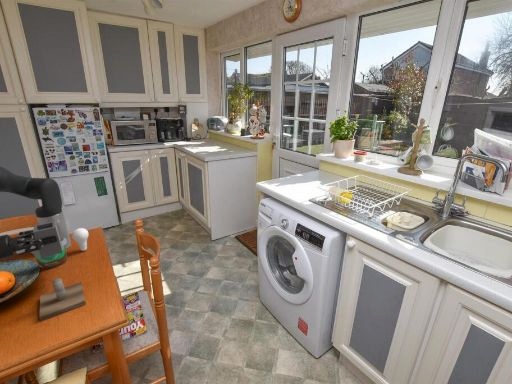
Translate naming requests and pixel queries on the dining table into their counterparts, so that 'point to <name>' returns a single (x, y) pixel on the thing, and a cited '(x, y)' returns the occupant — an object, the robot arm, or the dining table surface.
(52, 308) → the post stand
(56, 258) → the food container
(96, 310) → the dining table surface
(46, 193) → the robot arm
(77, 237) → the lightbulb
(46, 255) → the sleeve
